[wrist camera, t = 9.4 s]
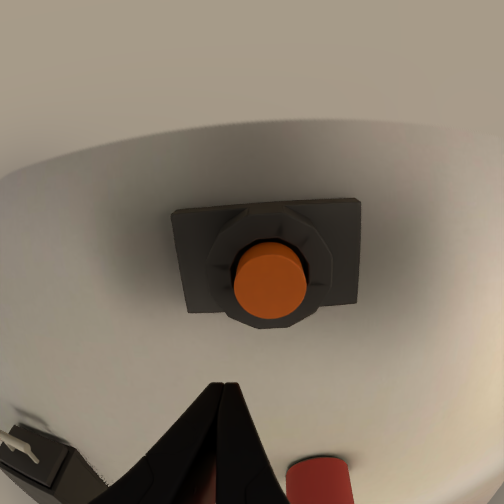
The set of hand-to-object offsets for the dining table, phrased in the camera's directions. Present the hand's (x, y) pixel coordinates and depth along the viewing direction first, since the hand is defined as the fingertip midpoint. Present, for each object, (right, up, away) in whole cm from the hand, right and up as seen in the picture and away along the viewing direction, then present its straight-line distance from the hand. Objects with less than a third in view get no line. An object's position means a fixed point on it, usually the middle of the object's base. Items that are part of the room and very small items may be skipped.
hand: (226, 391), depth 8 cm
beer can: (+8, -19, +17) cm, 26 cm away
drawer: (-28, -24, +19) cm, 41 cm away
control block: (+2, +4, +9) cm, 10 cm away
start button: (+2, +3, +6) cm, 7 cm away
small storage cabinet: (-28, -27, +22) cm, 45 cm away
